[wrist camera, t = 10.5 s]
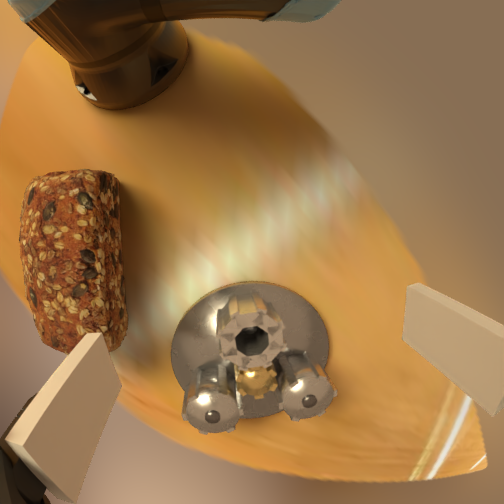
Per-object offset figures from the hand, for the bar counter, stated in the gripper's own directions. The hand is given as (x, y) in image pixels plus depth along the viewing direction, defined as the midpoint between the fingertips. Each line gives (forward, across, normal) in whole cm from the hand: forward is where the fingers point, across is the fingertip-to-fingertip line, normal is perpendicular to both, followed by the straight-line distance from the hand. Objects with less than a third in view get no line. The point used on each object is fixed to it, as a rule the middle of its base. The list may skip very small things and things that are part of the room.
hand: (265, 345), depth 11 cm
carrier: (+21, 0, -14) cm, 25 cm away
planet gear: (+20, 0, -8) cm, 22 cm away
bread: (+22, -18, +2) cm, 29 cm away
